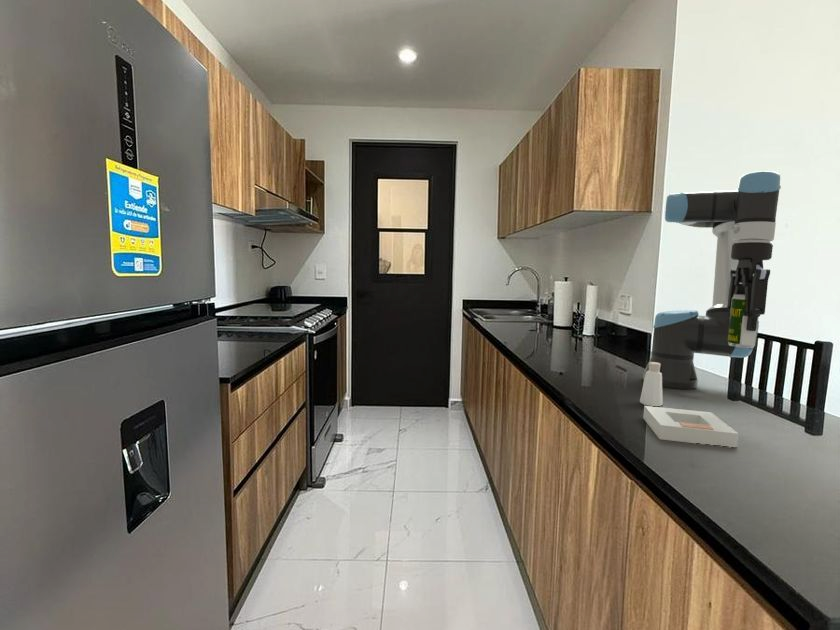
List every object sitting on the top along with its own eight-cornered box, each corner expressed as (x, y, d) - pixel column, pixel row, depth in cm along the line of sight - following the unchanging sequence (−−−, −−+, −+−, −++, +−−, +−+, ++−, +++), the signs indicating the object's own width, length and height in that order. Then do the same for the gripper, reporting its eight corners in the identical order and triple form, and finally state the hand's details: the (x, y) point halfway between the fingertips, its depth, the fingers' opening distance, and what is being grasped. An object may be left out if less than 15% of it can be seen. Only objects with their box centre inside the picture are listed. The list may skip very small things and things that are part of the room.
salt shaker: (663, 408, 114) (668, 365, 113) (640, 405, 116) (644, 363, 115) (661, 402, 119) (665, 362, 118) (638, 399, 121) (642, 359, 120)
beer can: (743, 344, 107) (749, 294, 105) (760, 348, 101) (767, 296, 100) (721, 343, 107) (726, 293, 105) (737, 347, 101) (743, 295, 100)
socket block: (643, 418, 105) (644, 404, 105) (709, 425, 102) (711, 411, 101) (659, 439, 92) (660, 424, 91) (736, 448, 88) (738, 432, 88)
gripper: (717, 244, 111) (707, 336, 114) (753, 239, 94) (740, 347, 96) (751, 245, 110) (741, 338, 112) (794, 239, 92) (781, 350, 94)
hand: (741, 342), depth 104 cm, fingers closed on beer can, 5 cm apart
